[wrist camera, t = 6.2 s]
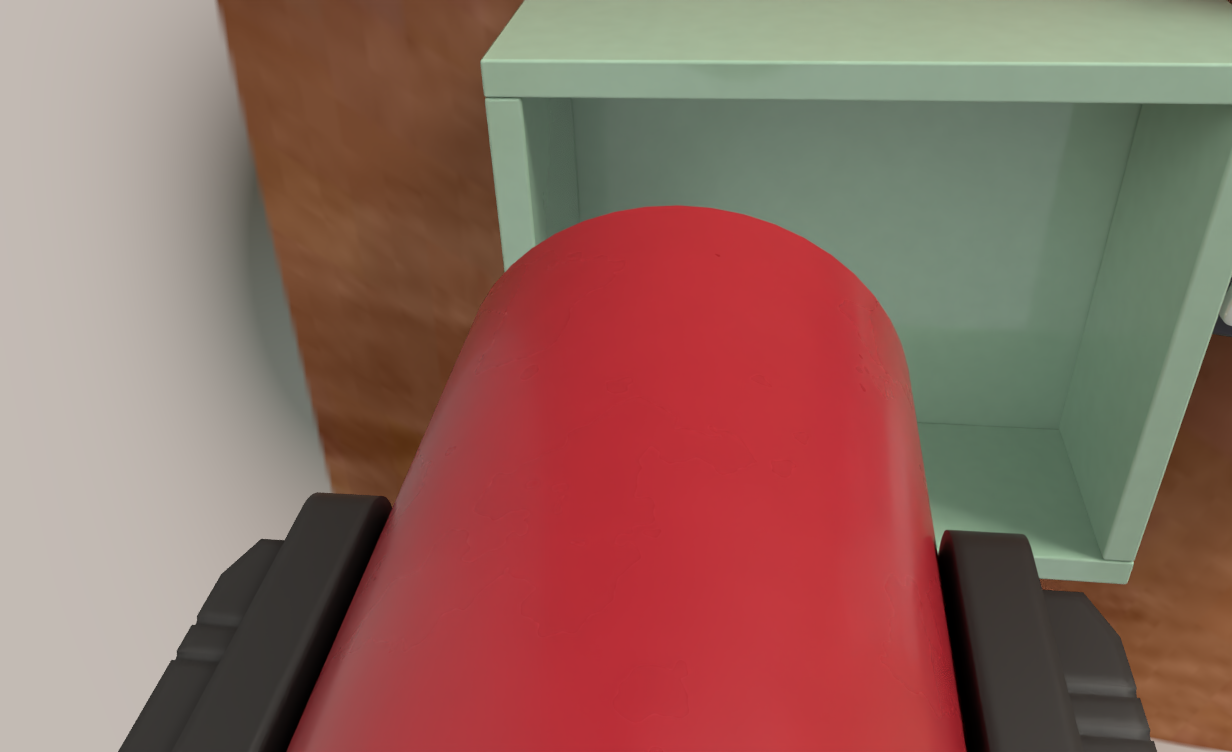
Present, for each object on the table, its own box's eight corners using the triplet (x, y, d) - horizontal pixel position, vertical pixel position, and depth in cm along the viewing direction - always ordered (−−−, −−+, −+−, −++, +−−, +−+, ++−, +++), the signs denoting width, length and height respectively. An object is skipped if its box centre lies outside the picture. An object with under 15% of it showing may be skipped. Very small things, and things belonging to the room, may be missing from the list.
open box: (537, -21, 26) (479, 59, 21) (1200, -24, 24) (1306, 64, 19) (571, 413, 34) (535, 545, 29) (1075, 438, 32) (1127, 585, 27)
